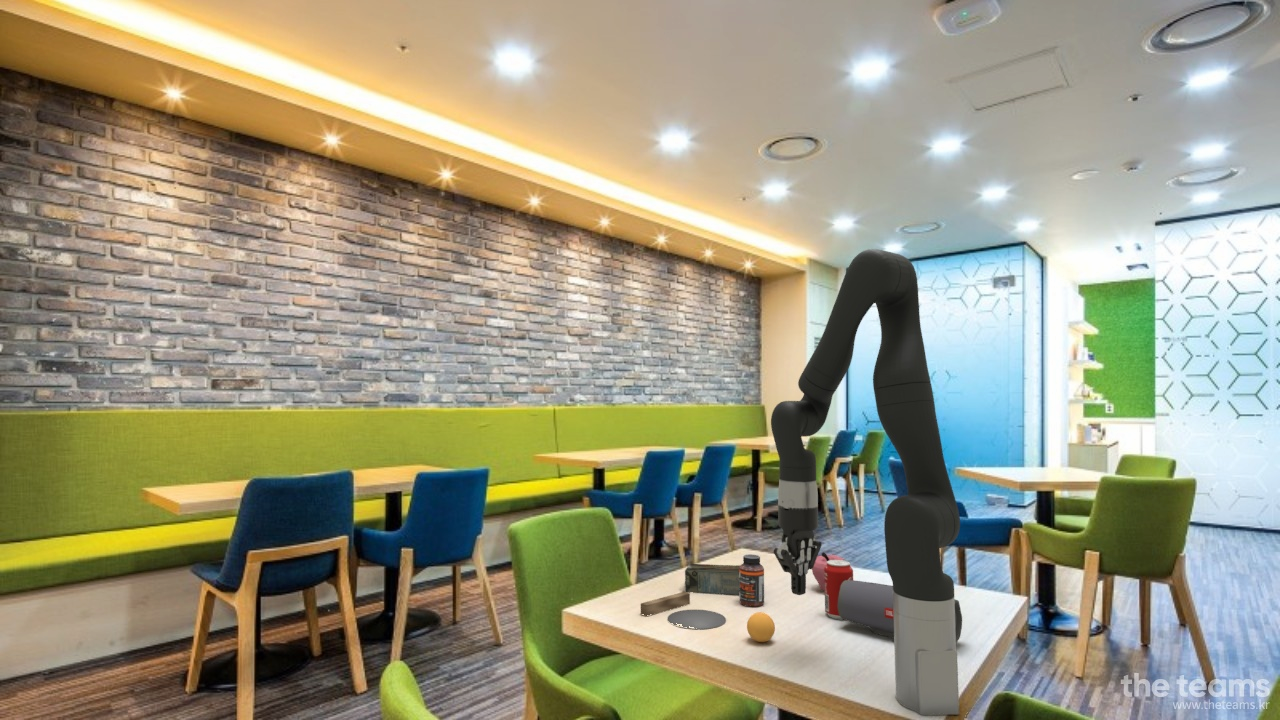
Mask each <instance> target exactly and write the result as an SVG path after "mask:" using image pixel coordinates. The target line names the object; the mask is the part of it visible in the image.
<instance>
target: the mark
mask: <svg viewBox="0 0 1280 720" xmlns="http://www.w3.org/2000/svg"><path fill="white" fill-rule="evenodd" d="M667 621H669V622H670V623H673V624H674V625H677V624H682V626H683V627H687V628H689V626H690V627H694V628H695V629H694V630H698V629H700V630H710V629H715V628H719V627H721V626H723V625H725V624H726V623H727V618H726V617H725V616H724V615H723V614H721V613H719V612H716V611H712V610H708V609H707V610H705V609H683V610H677V611H674V612H672V613H670V614H669V615H668V616H667ZM669 622H668V623H669ZM670 623H669V624H670ZM676 623H677V624H676ZM674 625H673V626H674ZM679 626H680V625H679ZM696 628H697V629H696Z"/></svg>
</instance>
